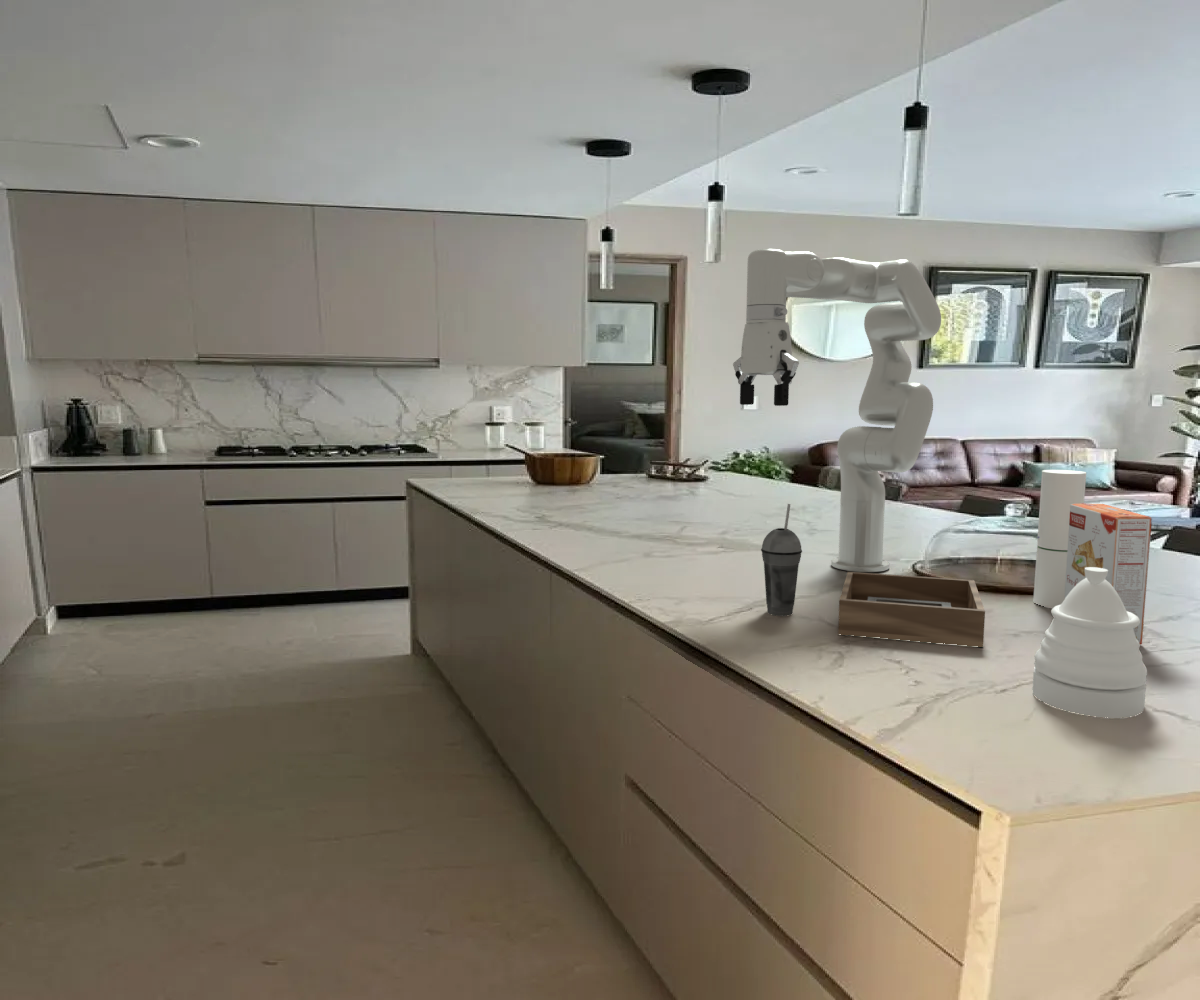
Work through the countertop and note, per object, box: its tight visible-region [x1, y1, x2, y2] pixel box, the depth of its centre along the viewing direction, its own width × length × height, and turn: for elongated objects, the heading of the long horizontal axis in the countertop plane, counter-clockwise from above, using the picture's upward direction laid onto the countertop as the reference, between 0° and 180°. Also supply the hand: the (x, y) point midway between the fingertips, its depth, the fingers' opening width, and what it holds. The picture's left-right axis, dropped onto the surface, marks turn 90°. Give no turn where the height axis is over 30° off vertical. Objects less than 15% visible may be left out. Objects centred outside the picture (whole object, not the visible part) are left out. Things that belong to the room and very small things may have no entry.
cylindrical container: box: [1033, 469, 1087, 609], centre depth 158 cm, size 7×7×25 cm
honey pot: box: [1031, 567, 1148, 719], centre depth 111 cm, size 13×13×18 cm
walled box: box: [837, 571, 986, 648], centre depth 147 cm, size 22×22×6 cm
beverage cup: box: [760, 503, 803, 617], centre depth 153 cm, size 7×7×20 cm
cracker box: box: [1064, 502, 1153, 646], centre depth 140 cm, size 14×6×21 cm, turn 178°
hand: (763, 405), depth 166 cm, fingers open, 9 cm apart
